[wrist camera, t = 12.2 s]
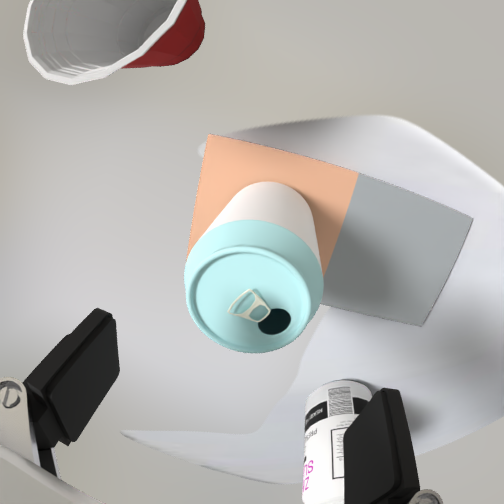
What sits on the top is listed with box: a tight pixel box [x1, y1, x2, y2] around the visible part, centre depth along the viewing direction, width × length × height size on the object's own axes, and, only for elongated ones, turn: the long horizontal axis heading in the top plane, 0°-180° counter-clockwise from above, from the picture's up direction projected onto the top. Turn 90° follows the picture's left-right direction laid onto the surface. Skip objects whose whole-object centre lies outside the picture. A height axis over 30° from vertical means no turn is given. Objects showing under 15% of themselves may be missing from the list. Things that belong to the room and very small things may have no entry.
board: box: [186, 134, 473, 327], centre depth 24 cm, size 24×12×1 cm, turn 77°
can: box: [184, 182, 324, 353], centre depth 19 cm, size 7×7×12 cm
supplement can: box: [302, 380, 372, 504], centre depth 26 cm, size 8×8×15 cm
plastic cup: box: [23, 0, 205, 85], centre depth 14 cm, size 11×11×12 cm
